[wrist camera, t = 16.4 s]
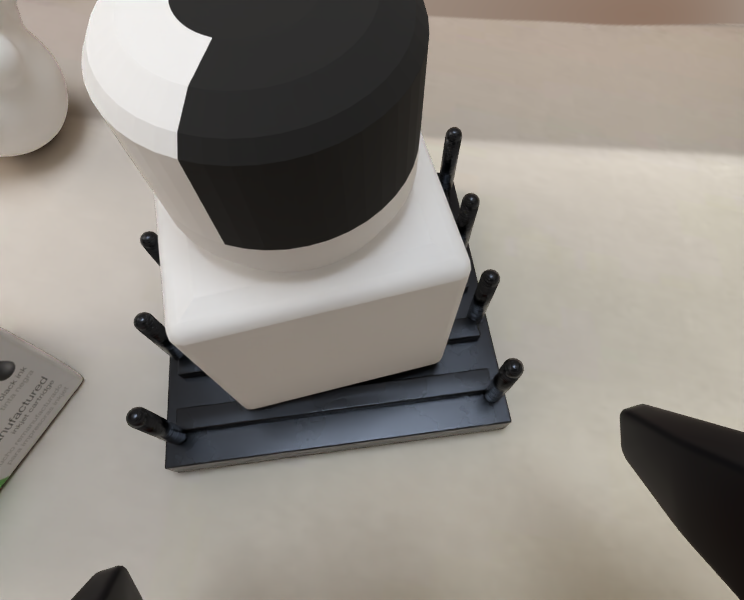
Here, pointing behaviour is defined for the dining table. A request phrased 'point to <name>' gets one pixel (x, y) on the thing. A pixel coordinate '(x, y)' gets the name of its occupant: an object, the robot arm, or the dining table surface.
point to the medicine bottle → (285, 184)
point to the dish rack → (345, 404)
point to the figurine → (27, 87)
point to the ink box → (28, 397)
